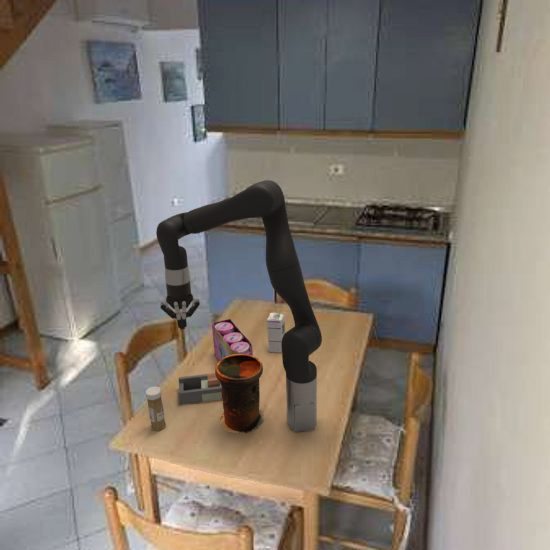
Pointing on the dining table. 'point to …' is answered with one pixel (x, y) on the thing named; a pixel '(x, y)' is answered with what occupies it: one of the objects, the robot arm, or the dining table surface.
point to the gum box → (229, 340)
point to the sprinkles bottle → (155, 408)
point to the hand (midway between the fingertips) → (182, 328)
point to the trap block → (213, 381)
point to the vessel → (240, 392)
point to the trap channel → (197, 390)
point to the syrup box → (275, 331)
